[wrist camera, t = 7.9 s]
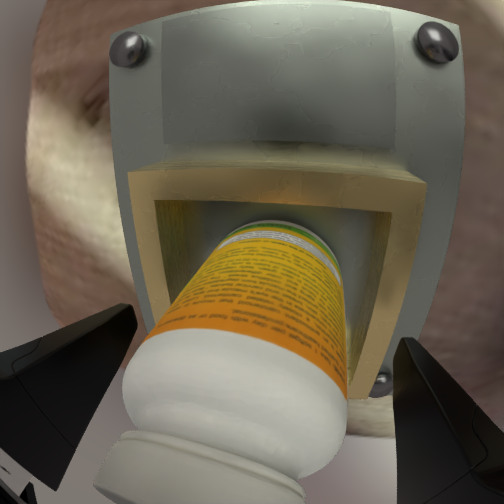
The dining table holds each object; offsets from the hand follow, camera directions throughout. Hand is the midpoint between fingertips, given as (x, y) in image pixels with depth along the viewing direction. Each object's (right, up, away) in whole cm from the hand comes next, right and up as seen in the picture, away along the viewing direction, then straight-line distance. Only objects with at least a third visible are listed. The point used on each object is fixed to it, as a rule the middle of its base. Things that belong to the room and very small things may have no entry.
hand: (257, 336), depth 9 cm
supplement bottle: (+1, +2, +3) cm, 4 cm away
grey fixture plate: (+1, +5, +5) cm, 7 cm away
